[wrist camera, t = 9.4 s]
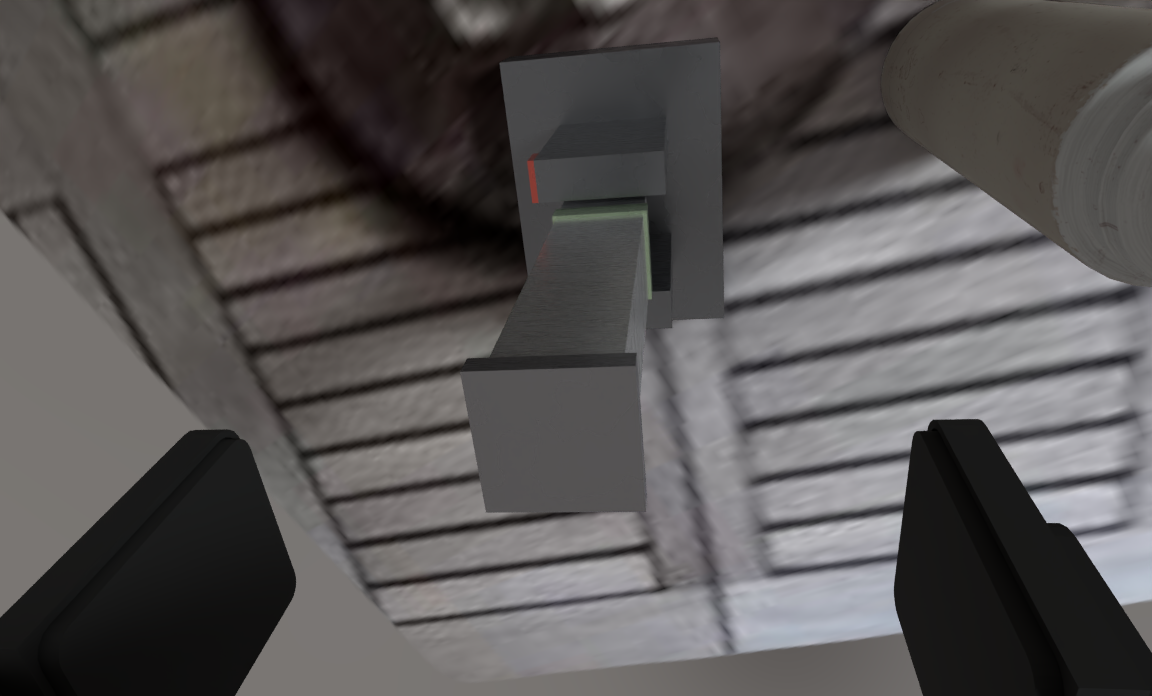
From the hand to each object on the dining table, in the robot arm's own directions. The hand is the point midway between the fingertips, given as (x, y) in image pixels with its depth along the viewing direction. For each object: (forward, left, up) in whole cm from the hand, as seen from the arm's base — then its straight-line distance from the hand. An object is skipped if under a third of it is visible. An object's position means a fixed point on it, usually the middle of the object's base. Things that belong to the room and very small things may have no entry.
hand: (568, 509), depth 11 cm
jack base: (+5, -2, -38) cm, 39 cm away
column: (+5, -2, -28) cm, 29 cm away
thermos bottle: (0, +17, -39) cm, 42 cm away
